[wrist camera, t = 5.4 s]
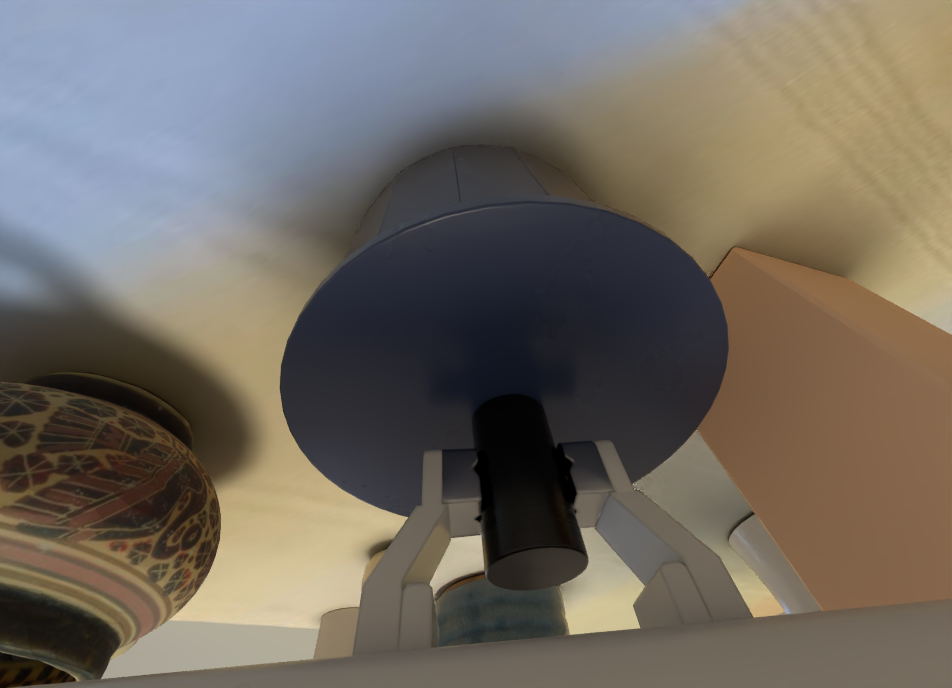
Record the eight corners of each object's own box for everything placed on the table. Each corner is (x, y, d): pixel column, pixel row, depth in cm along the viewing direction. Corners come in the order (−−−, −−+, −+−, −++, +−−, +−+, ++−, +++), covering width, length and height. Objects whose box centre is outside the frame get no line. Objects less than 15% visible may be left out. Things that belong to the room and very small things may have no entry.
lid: (793, 182, 9) (1123, 302, 5) (639, 489, 18) (708, 637, 13) (214, 189, 8) (-45, 344, 4) (343, 509, 17) (307, 675, 12)
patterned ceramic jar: (-90, 202, 18) (-1357, 434, 6) (256, 303, 18) (-346, 743, 6) (97, 483, 33) (-173, 719, 21) (291, 540, 33) (134, 812, 20)
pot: (620, 143, 17) (768, 214, 9) (573, 359, 24) (633, 493, 17) (332, 145, 16) (238, 225, 8) (377, 368, 24) (349, 514, 16)
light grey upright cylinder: (364, 632, 53) (348, 757, 44) (310, 624, 49) (280, 759, 40) (396, 614, 50) (387, 745, 40) (341, 603, 46) (315, 745, 37)
